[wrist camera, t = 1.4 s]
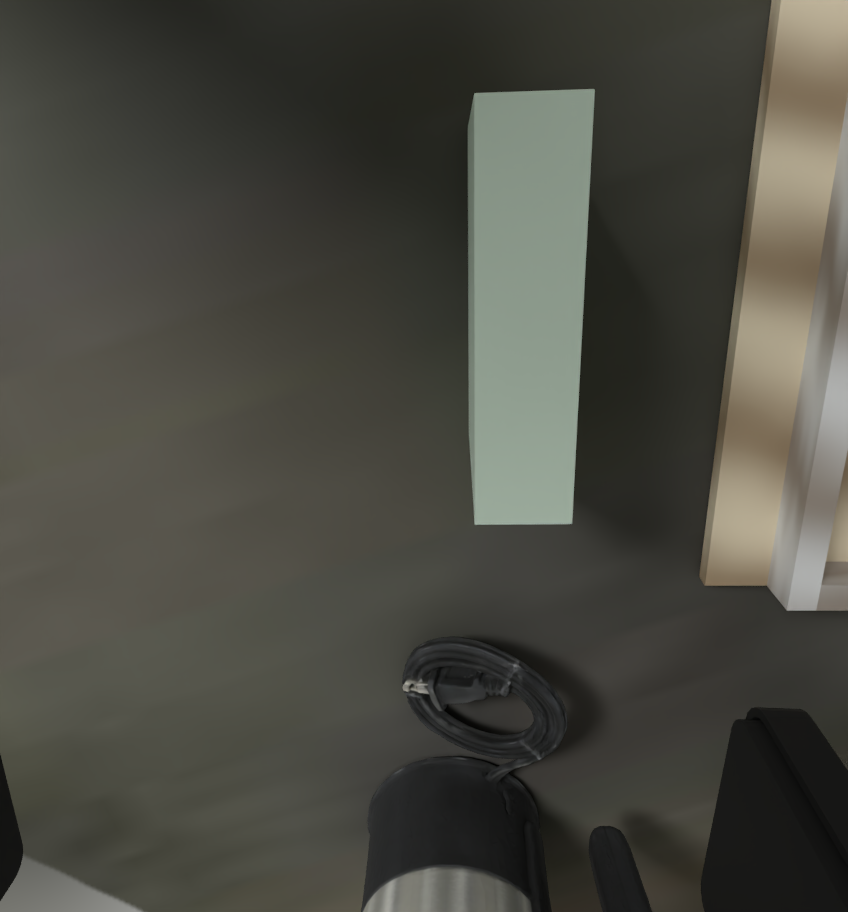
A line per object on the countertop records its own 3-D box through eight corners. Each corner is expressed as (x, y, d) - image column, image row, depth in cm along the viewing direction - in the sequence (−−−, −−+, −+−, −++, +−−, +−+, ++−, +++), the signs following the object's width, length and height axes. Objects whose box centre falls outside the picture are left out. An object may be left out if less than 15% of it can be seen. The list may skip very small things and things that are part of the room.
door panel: (467, 127, 26) (474, 93, 18) (548, 125, 26) (594, 88, 17) (468, 433, 30) (474, 524, 22) (538, 432, 30) (572, 524, 22)
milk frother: (421, 902, 40) (403, 1277, 26) (261, 706, 36) (138, 1032, 22) (650, 812, 37) (768, 1181, 23) (507, 586, 33) (546, 875, 19)
